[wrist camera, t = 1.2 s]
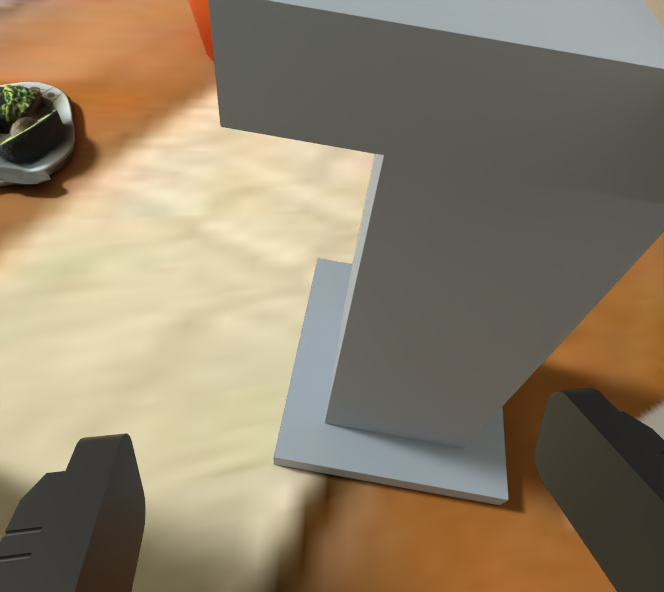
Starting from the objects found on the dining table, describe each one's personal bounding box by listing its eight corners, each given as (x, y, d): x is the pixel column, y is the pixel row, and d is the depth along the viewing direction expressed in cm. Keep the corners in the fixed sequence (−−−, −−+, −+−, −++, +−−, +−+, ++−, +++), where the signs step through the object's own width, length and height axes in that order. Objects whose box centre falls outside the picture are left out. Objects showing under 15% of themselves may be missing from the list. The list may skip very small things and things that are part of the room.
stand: (503, 570, 32) (1483, 210, 6) (260, 525, 32) (207, -10, 6) (488, 282, 46) (760, -189, 20) (320, 252, 46) (379, -253, 20)
